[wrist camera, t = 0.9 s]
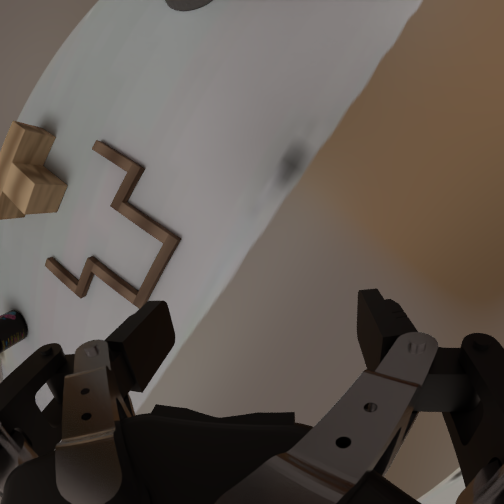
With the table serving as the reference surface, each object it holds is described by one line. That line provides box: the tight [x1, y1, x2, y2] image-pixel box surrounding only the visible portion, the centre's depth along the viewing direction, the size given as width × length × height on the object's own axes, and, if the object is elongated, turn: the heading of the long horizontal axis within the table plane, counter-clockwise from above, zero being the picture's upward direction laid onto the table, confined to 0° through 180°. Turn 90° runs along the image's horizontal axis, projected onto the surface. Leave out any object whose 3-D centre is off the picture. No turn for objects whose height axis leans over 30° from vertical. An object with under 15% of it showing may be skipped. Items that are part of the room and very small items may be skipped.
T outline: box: [45, 140, 181, 309], centre depth 39 cm, size 20×23×2 cm
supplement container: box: [0, 310, 27, 353], centre depth 40 cm, size 7×7×10 cm
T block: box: [0, 121, 68, 220], centre depth 35 cm, size 13×16×8 cm
